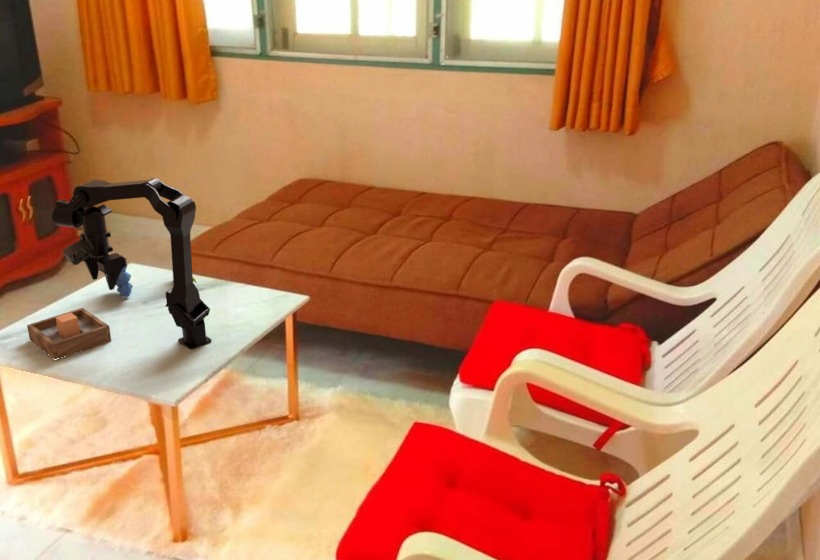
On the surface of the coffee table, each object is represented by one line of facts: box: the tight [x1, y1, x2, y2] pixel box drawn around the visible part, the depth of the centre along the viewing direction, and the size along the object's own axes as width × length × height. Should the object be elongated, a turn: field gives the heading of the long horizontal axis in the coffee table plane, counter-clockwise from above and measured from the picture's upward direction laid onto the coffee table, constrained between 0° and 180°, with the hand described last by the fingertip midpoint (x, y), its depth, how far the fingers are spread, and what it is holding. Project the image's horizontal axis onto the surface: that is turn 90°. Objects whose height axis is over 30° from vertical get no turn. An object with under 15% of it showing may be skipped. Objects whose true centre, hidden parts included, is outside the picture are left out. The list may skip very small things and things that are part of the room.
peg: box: [56, 311, 80, 339], centre depth 202 cm, size 4×4×7 cm
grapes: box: [115, 265, 134, 298], centre depth 227 cm, size 12×7×12 cm, turn 39°
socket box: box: [26, 307, 112, 360], centre depth 203 cm, size 15×15×4 cm
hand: (103, 284), depth 206 cm, fingers open, 9 cm apart
